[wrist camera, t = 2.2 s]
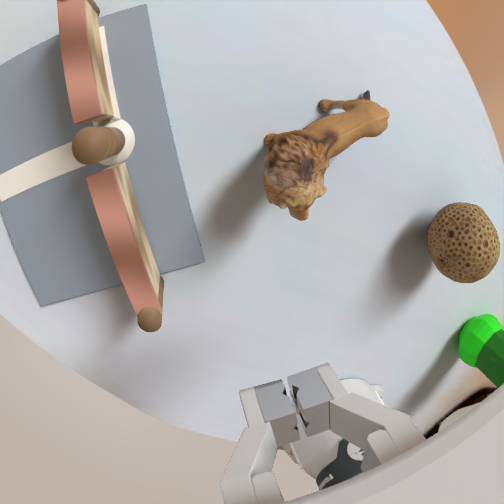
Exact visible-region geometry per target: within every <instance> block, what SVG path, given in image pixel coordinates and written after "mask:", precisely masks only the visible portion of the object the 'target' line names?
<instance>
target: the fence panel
mask: <svg viewBox="0 0 504 504" xmlns="http://www.w3.org/2000/svg"><path fill="white" fill-rule="evenodd" d="M86 180H87V183H88V187H89V190H90V193H91V196H92V200H93V203H94V206H95V209H96V212H97V215H98V218H99V221H100V224H101V227H102V230H103V233H104V236H105V239H106V241H107V244H108V247H109V250H110V252H111V255H112V258H113V260H114V263H115V265H116V268H117V270H118V273H119V275H120V278H121V280H122V283H123V285H124V288H125V290H126V292H127V295H128V297H129V299H130V302H131V304H132V306H133V308H134V311H135V313H136V315H137V317H138V325H139V327H140V328H141V329H142V330H144V331H146V332H154V331H157V330H158V329H159V328H160V327H161V323H162V304H163V289H164V280H163V278H162V277H161V276H160V273H159V271H158V268H157V265H156V262H155V259H154V256H153V253H152V250H151V247H150V244H149V241H148V238H147V235H146V232H145V229H144V226H143V222H142V219H141V216H140V213H139V209H138V206H137V203H136V199H135V196H134V192H133V189H132V185H131V182H130V178H129V175H128V171H127V167H126V163H125V162H123V163H120V164H117V165H114V166H111V167H108V168H106V169H105V170H103V171H101V172H99V173H96V174H93V175H90V176H88V177H86Z"/></svg>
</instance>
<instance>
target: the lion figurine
mask: <svg viewBox="0 0 504 504" xmlns="http://www.w3.org/2000/svg"><path fill="white" fill-rule="evenodd" d="M363 98H364V99H355V100H348V101H332V100H327V99H323V100H321V101H320V103H319V106H320V108H321V110H322V111H330V110H333V109H343V110H345V112H343V113H338V114H332V115H328V116H325V117H323V118H321V119H319V120H316V121H314V122H312V123H310V124H309V125H307V126H306V127H305V128H304V129H302V130H295V131H290V132H284V133H281V134H268V135H267V136H266V138H265V143H266V145H268V147H269V150H270V152H269V153H267V154H266V155H265V165H264V166H265V169H264V175H265V176H264V184H265V190H266V193H267V198H268V200H269V203H273V204H275V205H277V206H279V207H280V208H283V209H284V208H286V207H288V208H289V212H290V215H291V216H292V217H294V218H296V219H298V220H300V221H303V220H306V219H307V218H308V216H309V215H308V212H309V207H310V206H311V205H312V204H313V203H314V200H315V199H316V198H317V197H321V196H323V194H324V193H325V192H326V191H327V189H326V187H324V186H323V184H324V173H325V171H326V168H327V167H329V160H328V159H330V158H332V157H334V156H336V155H338V154H339V153H341V152H342V151H344V150H345V149H347V148H348V147H349V146H350V145H351V144H353V143H354V142H355V141H357V140H359V139H360V138H363V137H375V136H378V135H380V134H381V133H382V132H383V131H384V130H385V129H386V128H387V126H388V123H387V119H388V118H389V111H388V110H387V109H385V108H382V107H381V106H380V105H378V104H377V103H375V102H373V101H370V92H369V90H367V91H366V92H365V93H364V94H363Z"/></svg>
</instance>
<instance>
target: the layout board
mask: <svg viewBox="0 0 504 504" xmlns="http://www.w3.org/2000/svg"><path fill="white" fill-rule="evenodd" d="M98 23H99V32H100V40H101V46H102V53H103V59H104V65H105V71H106V76H107V82H108V87H109V92H110V97H111V102H112V107H113V111H114V116H113V117H110V118H107V119H104V120H102V121H99V122H93V121H85V122H82V123H80V124H74V122H73V117H72V113H71V108H70V103H69V97H68V92H67V86H66V80H65V74H64V67H63V60H62V52H61V43H60V34H59V35H57V36H55V37H52V38H50V39H48V40H46V41H44V42H42V43H40V44H38V45H36V46H34V47H32V48H30V49H29V50H27V51H25V52H23V53H21V54H19V55H18V56H16V57H14V58H12V59H11V60H9V61H7V62H6V63H4V64H2V65H1V66H0V210H1V213H2V216H3V219H4V222H5V225H6V228H7V231H8V233H9V236H10V239H11V241H12V244H13V246H14V249H15V251H16V254H17V256H18V259H19V261H20V263H21V266H22V268H23V270H24V272H25V275H26V277H27V279H28V281H29V283H30V285H31V287H32V289H33V291H34V294H35V296H36V298H37V300H38V301H39V303H40V305H41V306H44V305H48V304H51V303H55V302H59V301H62V300H66V299H70V298H73V297H77V296H81V295H84V294H88V293H92V292H95V291H99V290H103V289H106V288H110V287H114V286H117V285H121V284H123V283H122V280H121V278H120V275H119V273H118V270H117V268H116V265H115V263H114V260H113V258H112V255H111V252H110V250H109V247H108V244H107V241H106V239H105V236H104V233H103V230H102V227H101V224H100V221H99V218H98V215H97V212H96V209H95V206H94V203H93V200H92V196H91V193H90V190H89V187H88V183H87V180H86V177H88V176H90V175H93V174H96V173H99V172H101V171H103V170H105V169H106V168H108V167H111V166H114V165H117V164H120V163H123V162H125V163H126V167H127V171H128V175H129V178H130V182H131V185H132V189H133V192H134V196H135V199H136V203H137V206H138V209H139V213H140V216H141V219H142V222H143V226H144V229H145V232H146V235H147V238H148V241H149V244H150V247H151V250H152V253H153V256H154V259H155V262H156V265H157V268H158V271H159V273H160V274H162V273H166V272H169V271H173V270H177V269H180V268H184V267H188V266H191V265H195V264H199V263H203V262H205V260H204V256H203V253H202V249H201V246H200V242H199V238H198V235H197V231H196V227H195V223H194V220H193V216H192V212H191V208H190V205H189V201H188V197H187V193H186V189H185V185H184V181H183V177H182V173H181V169H180V165H179V161H178V156H177V152H176V148H175V144H174V140H173V135H172V131H171V126H170V122H169V118H168V113H167V108H166V104H165V99H164V95H163V90H162V85H161V80H160V75H159V70H158V65H157V60H156V55H155V50H154V44H153V39H152V33H151V28H150V22H149V16H148V10H147V5H146V4H144V5H140V6H136V7H133V8H129V9H126V10H123V11H119V12H116V13H113V14H110V15H107V16H104V17H101V18H99V19H98ZM86 127H115V128H118V129H120V130H121V131H122V132H123V134H124V136H125V145H124V148H123V149H122V151H121V152H120V153H118V154H117V155H114V156H112V157H109V158H107V159H104V160H102V161H99V162H97V163H94V164H91V165H84V164H81V163H80V162H78V161H77V160H76V159H75V157H74V156H73V153H72V142H73V139H74V137H75V135H76V134H77V133H78V132H79V131H80V130H81V129H83V128H86Z"/></svg>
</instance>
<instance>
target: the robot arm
mask: <svg viewBox="0 0 504 504" xmlns="http://www.w3.org/2000/svg"><path fill="white" fill-rule="evenodd" d="M287 379H288V384H289V387H290V389H291V390H290V395H291V399H292V402H291V400H290V398H289V397H288V396H287V394H286V389H285V386H284V384H283V381H282V380H281V379H280V380H277V381H273V382H269V383H266V384H262V385H258V386H255V387H254V388H253V387H251V388H248V389H244V390H240V391H239V395H240V399H241V402H242V406H243V410H244V413H245V417H246V421H247V424H248V428H245V429H244V430H243V433H242V435H241V437H240V439H239V442H238V444H237V446H236V448H235V451H234V453H233V455H232V457H231V459H230V461H229V464H228V466H227V468H226V470H225V472H224V474H223V476H222V479H221V481H220V484H221V488H222V494H223V499H224V503H225V504H504V384H502V385H501V386H500V387H499V388H498V389H497V390H495V391H494V392H493V393H492V394H490V395H489V396H488V397H487V398H486V399H484V400H483V401H482V402H480V403H479V404H478V405H477V406H475V407H474V408H473V409H471V410H470V411H469V412H467V413H466V414H464V415H463V416H462V417H460V418H459V419H458V420H456V421H455V422H453V423H452V424H450V425H449V426H447V427H446V428H444V429H443V430H441V431H440V432H438V433H437V434H435V435H433V436H432V437H430V438H429V439H427V440H426V439H425V437H424V436H423V435H422V433H421V432H420V431H419V429H418V428H417V426H416V425H415V424H414V422H413V421H412V420H411V418H410V417H409V416H408V414H405V413H403V412H400V411H398V410H395V409H392V408H390V407H387V406H385V405H384V403H383V402H382V400H381V399H382V397H383V395H384V389H383V387H382V386H380V385H369V384H368V383H366V382H365V381H363V380H360V379H344V380H340V379H339V378H338V376H337V374H336V373H335V371H334V370H333V368H332V367H331V365H330V364H329V363H325V364H323V365H320V366H317V367H315V368H311V369H308V370H305V371H303V372H300V373H297V374H294V375H291V376H288V377H287ZM254 390H255V391H254ZM292 403H293V405H292ZM280 446H281V447H282V448H283V449H284V450H285V451H286V453H287V454H288V455H289V456H290V457H291V458H292V460H293V461H294V462H295V463H297V464H298V465H299V467H300V468H301V469H304V470H305V472H306V473H308V474H309V475H310V476H311V477H313V478H314V479H316V483H317V485H318V487H319V491H317V492H314V493H311V494H308V495H305V496H302V497H299V498H296V499H293V500H290V501H286V502H284V499H283V497H282V494H281V492H280V489H279V487H278V484H277V482H276V479H275V477H274V474H273V473H271V470H272V466H273V463H274V460H275V457H276V453H277V450H278V447H280Z"/></svg>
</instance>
